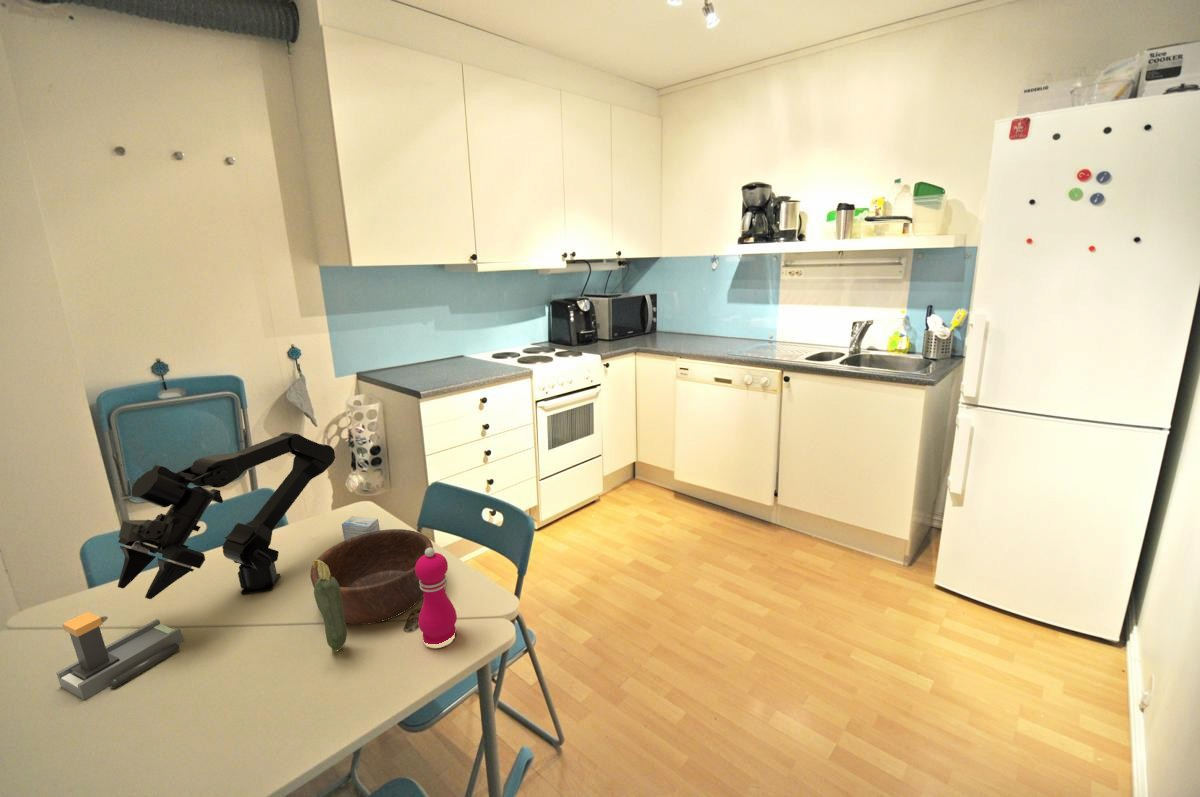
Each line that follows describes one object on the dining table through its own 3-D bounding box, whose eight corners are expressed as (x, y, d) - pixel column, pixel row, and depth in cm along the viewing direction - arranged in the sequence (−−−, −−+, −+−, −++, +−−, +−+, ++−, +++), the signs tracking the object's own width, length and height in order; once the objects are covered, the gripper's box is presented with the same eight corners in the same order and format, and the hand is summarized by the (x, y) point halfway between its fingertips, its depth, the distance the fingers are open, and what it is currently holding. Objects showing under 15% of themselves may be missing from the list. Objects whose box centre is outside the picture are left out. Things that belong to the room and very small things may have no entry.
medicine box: (383, 548, 142) (379, 518, 140) (372, 557, 138) (368, 526, 136) (357, 545, 144) (352, 515, 142) (345, 554, 140) (340, 523, 137)
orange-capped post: (105, 654, 102) (91, 609, 100) (120, 661, 100) (106, 615, 98) (71, 672, 98) (56, 625, 95) (86, 680, 96) (71, 633, 93)
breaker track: (153, 628, 113) (150, 616, 112) (190, 644, 108) (187, 631, 107) (54, 683, 99) (49, 669, 98) (91, 704, 94) (86, 689, 93)
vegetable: (355, 647, 106) (340, 555, 100) (338, 662, 102) (321, 568, 97) (337, 642, 107) (321, 552, 102) (320, 657, 103) (302, 564, 98)
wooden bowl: (443, 560, 135) (438, 523, 133) (430, 625, 112) (424, 581, 109) (336, 572, 131) (330, 534, 129) (300, 642, 108) (291, 597, 105)
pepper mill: (463, 627, 110) (454, 538, 105) (451, 652, 104) (440, 559, 98) (429, 625, 111) (418, 538, 106) (414, 650, 104) (402, 557, 99)
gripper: (118, 493, 108) (62, 572, 101) (174, 509, 100) (118, 594, 93) (170, 513, 117) (122, 586, 110) (226, 528, 109) (178, 607, 102)
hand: (133, 593), depth 103 cm, fingers open, 9 cm apart
